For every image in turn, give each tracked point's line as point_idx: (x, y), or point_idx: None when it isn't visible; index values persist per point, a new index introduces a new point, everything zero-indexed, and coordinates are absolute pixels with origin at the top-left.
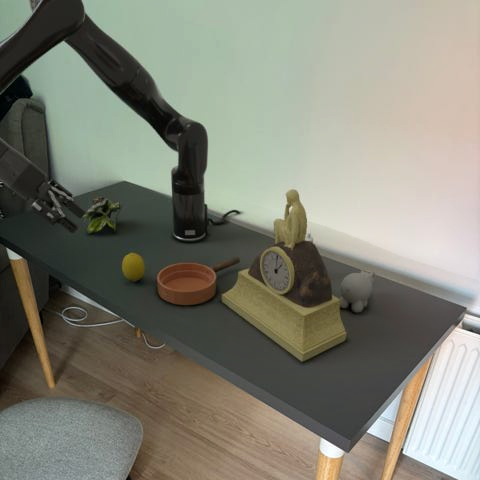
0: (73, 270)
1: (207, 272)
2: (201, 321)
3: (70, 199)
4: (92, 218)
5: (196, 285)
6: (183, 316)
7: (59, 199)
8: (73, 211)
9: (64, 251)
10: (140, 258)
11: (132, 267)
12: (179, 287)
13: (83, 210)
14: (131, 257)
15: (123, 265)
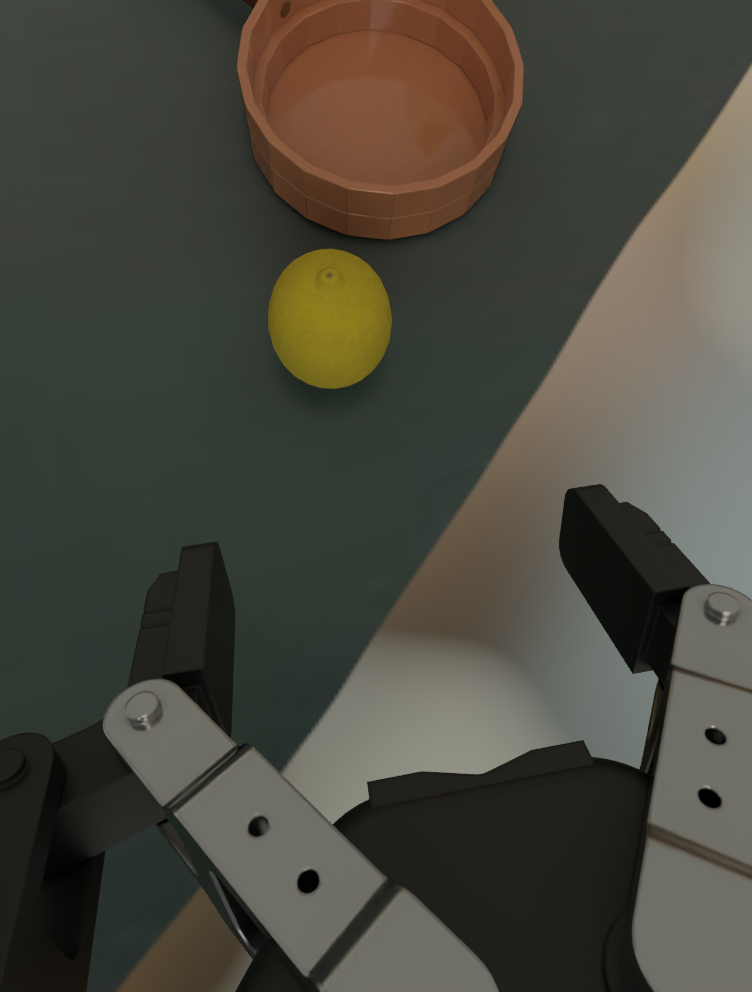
0: (257, 708)
1: (288, 9)
2: (591, 56)
3: (183, 709)
4: None
5: (336, 91)
6: (572, 119)
7: (444, 795)
8: (227, 670)
9: None
10: (330, 249)
11: (387, 298)
12: (365, 155)
13: (198, 557)
14: (358, 282)
15: (370, 351)
